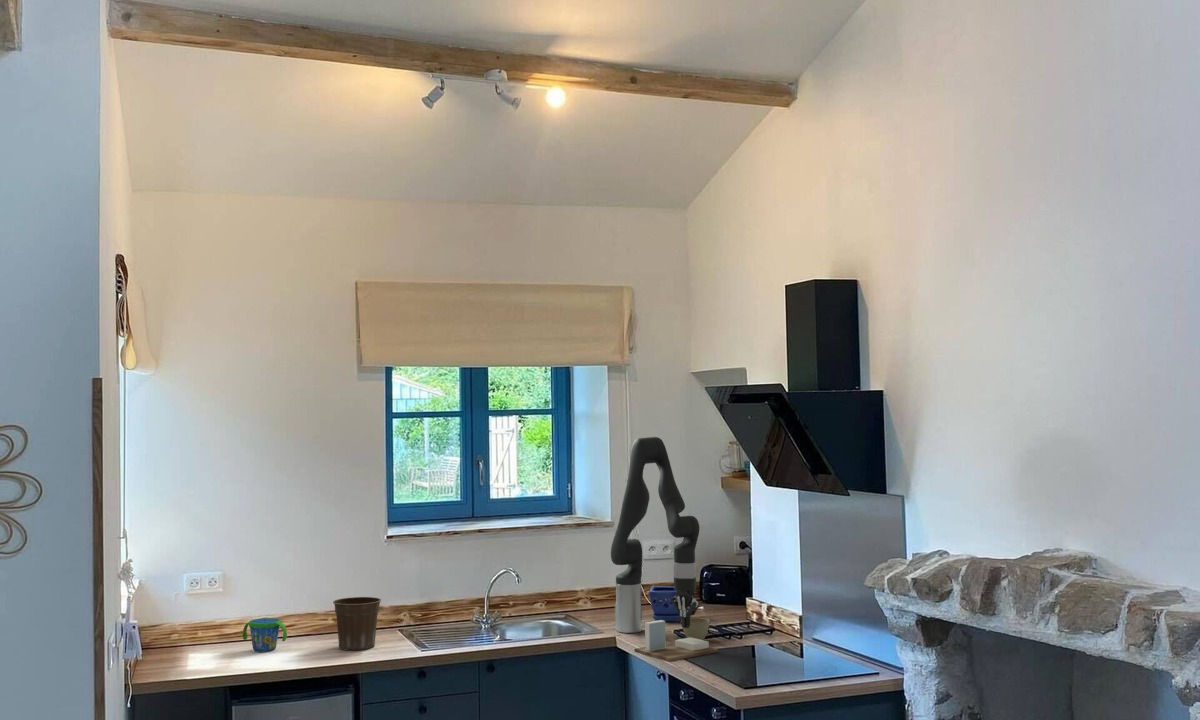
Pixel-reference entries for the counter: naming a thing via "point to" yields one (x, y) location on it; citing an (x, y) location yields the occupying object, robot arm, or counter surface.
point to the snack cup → (264, 633)
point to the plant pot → (357, 622)
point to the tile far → (692, 644)
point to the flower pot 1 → (663, 603)
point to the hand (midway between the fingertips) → (685, 627)
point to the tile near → (655, 635)
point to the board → (675, 652)
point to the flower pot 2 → (697, 628)
